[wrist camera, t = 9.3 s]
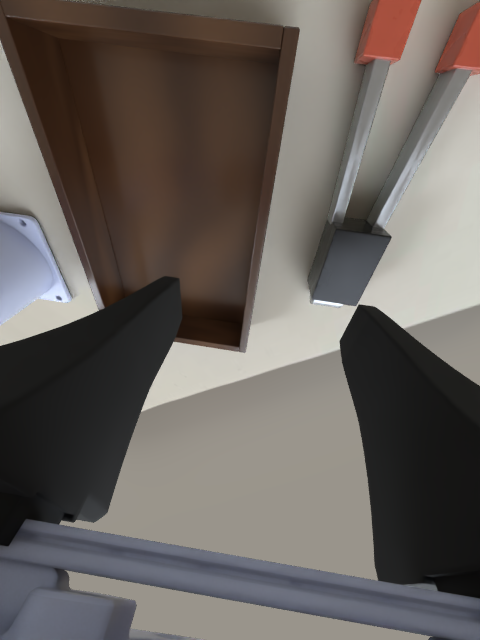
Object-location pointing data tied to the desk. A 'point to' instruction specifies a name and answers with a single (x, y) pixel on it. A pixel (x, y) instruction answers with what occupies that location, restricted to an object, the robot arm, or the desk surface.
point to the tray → (158, 147)
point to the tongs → (369, 235)
